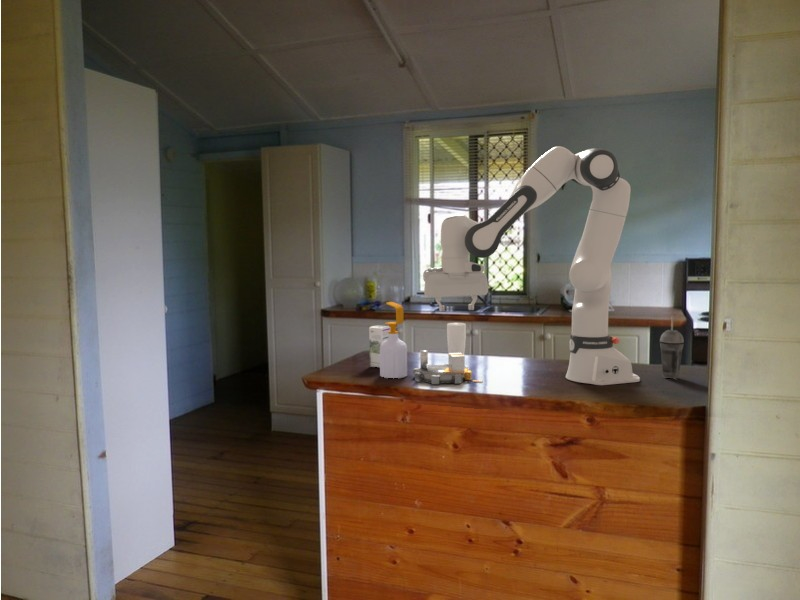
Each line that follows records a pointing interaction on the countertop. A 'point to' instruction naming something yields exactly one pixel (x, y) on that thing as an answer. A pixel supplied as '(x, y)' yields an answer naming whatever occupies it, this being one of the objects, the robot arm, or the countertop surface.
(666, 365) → the beverage cup
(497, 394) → the countertop surface
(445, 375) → the sprocket
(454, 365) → the marked link
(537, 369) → the countertop surface
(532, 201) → the robot arm
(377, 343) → the syrup box
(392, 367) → the soap bottle
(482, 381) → the timing mark
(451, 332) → the drinking glass
